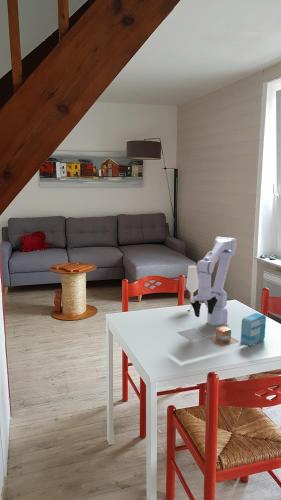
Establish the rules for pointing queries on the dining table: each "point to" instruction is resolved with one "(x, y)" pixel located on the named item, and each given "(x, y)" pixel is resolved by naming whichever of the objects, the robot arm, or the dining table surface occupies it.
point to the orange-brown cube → (223, 334)
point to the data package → (253, 329)
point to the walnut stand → (223, 342)
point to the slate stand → (192, 334)
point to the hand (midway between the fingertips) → (203, 314)
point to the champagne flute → (192, 281)
